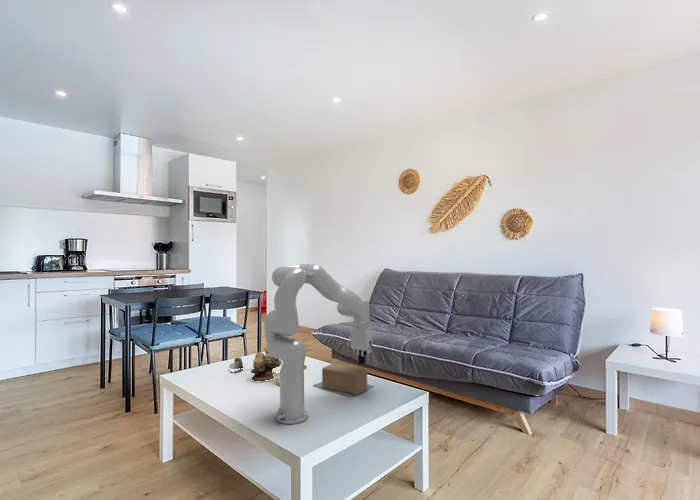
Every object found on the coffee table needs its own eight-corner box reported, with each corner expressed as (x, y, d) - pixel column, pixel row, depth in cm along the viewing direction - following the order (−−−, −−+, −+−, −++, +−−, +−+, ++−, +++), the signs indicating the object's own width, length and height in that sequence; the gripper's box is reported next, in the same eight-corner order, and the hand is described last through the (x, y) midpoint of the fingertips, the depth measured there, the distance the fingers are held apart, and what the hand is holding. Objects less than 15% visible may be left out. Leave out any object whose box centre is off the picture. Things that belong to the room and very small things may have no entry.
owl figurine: (275, 371, 220) (274, 340, 220) (287, 376, 212) (287, 344, 212) (246, 379, 207) (246, 346, 207) (258, 384, 199) (258, 350, 199)
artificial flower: (269, 373, 221) (267, 357, 218) (228, 380, 219) (225, 364, 216) (270, 365, 230) (268, 349, 227) (231, 371, 227) (227, 356, 224)
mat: (349, 397, 180) (349, 396, 180) (313, 385, 195) (313, 385, 195) (374, 386, 193) (374, 385, 193) (338, 376, 209) (338, 376, 209)
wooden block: (357, 395, 180) (321, 388, 191) (368, 389, 189) (333, 382, 199) (357, 373, 180) (321, 367, 191) (367, 368, 189) (332, 362, 199)
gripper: (344, 324, 188) (344, 363, 188) (368, 328, 178) (369, 368, 178) (354, 322, 194) (355, 359, 194) (379, 325, 184) (379, 365, 184)
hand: (362, 363), depth 186 cm, fingers closed
